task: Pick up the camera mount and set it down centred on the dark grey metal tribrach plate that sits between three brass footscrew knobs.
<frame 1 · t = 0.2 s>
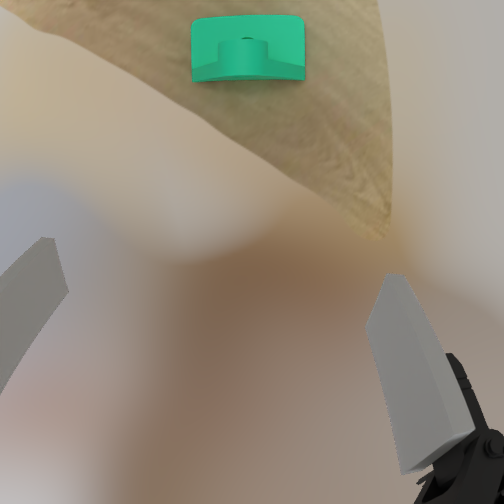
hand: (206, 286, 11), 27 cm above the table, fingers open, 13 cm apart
camera mount: (249, 49, 28), on the table
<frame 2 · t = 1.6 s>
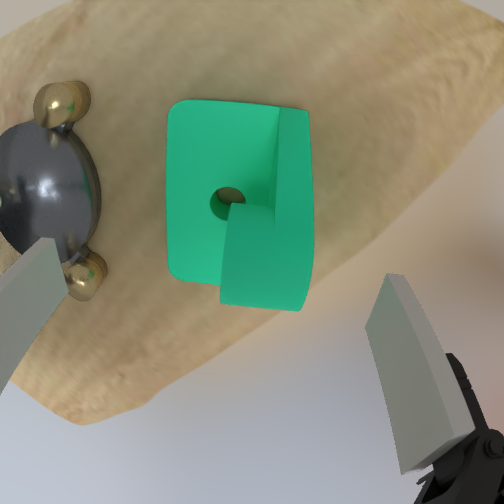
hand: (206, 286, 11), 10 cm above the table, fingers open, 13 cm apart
camera mount: (232, 188, 20), on the table
tribrach plate: (43, 190, 20), on the table
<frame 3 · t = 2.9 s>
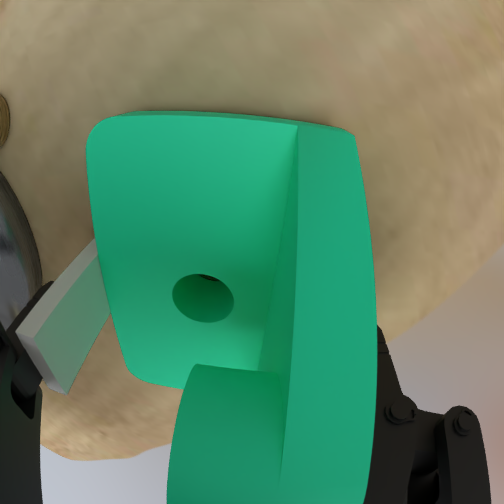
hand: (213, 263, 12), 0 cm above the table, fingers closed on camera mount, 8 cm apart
camera mount: (215, 257, 13), on the table, touching gripper
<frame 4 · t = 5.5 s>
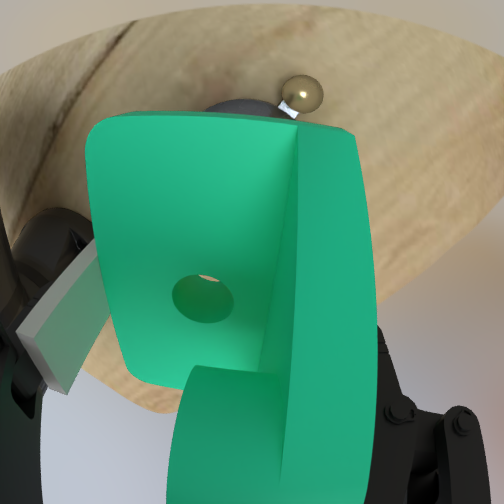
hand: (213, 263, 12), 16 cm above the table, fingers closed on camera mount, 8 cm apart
camera mount: (214, 257, 13), point 15 cm above the table, touching gripper
tribrach plate: (244, 165, 26), on the table
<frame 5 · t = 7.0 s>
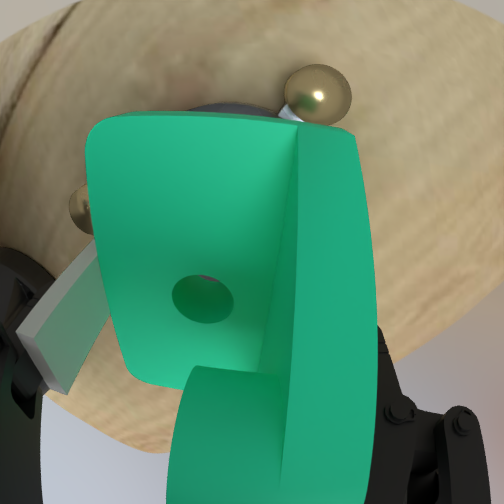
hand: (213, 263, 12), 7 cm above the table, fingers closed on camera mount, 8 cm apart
camera mount: (214, 257, 13), point 6 cm above the table, touching gripper
tribrach plate: (229, 201, 18), on the table
when the fingers open (4 cm above the table, at t = 8.1 s): camera mount stays where it is, resting on tribrach plate.
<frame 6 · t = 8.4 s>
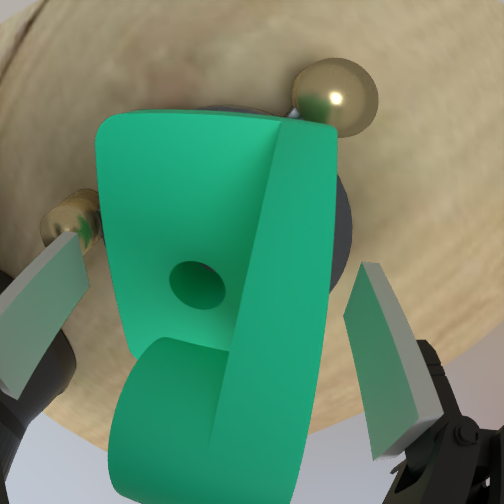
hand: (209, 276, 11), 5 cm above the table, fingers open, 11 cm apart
camera mount: (217, 249, 13), point 2 cm above the table, touching tribrach plate
tribrach plate: (225, 224, 15), on the table
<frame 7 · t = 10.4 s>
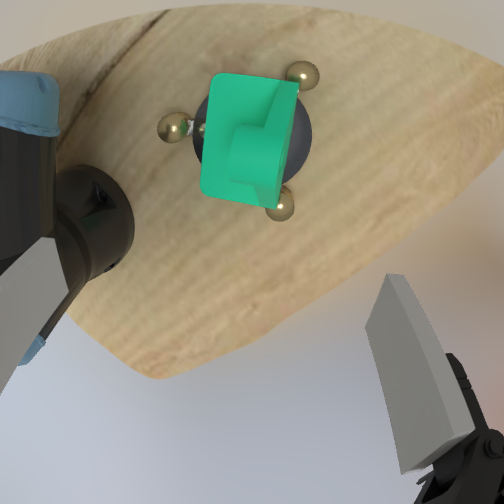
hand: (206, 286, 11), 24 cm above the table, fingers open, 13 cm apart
camera mount: (250, 136, 28), point 2 cm above the table, touching tribrach plate
tribrach plate: (252, 133, 30), on the table
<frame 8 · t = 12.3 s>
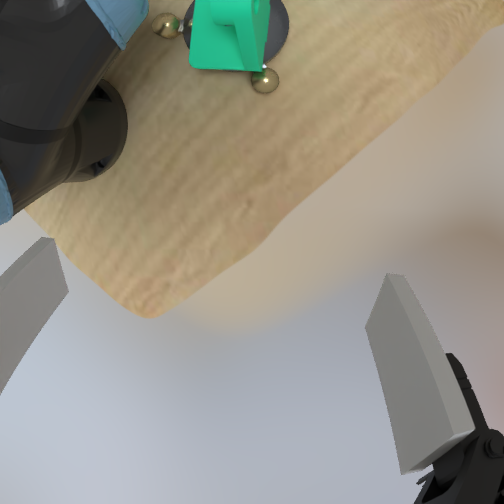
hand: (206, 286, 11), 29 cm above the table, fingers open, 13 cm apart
camera mount: (234, 22, 26), point 2 cm above the table, touching tribrach plate
tribrach plate: (236, 26, 28), on the table
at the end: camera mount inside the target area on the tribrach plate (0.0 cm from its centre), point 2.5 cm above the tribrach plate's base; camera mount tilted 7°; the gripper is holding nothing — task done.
